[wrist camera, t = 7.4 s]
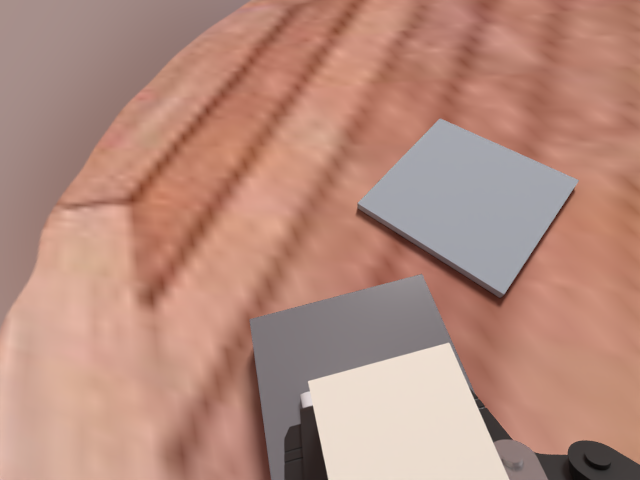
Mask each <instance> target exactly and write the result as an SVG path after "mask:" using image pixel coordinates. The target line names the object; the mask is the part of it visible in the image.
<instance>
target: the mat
mask: <svg viewBox="0 0 640 480" xmlns="http://www.w3.org/2000/svg"><path fill="white" fill-rule="evenodd" d="M578 181H579V180H577V179H575V178H573V177H570V176H568V175H566V174H564V173H561V172H559V171H557V170H555V169H552V168H550V167H548V166H546V165H543V164H541V163H539V162H537V161H534V160H532V159H530V158H528V157H525V156H523V155H521V154H519V153H516V152H514V151H512V150H510V149H507V148H505V147H503V146H501V145H498V144H496V143H494V142H492V141H489V140H487V139H485V138H483V137H480V136H478V135H476V134H474V133H472V132H469V131H467V130H465V129H463V128H460V127H458V126H456V125H454V124H451V123H449V122H447V121H445V120H442V119H439V120H438V121H437V122H436V123H435V124H434V125H433V126H432V127H431V128H430V129H429V130H428V131H427V132H426V133H425V134H424V136H423V137H422V138H421V139H420V140H419V141H418V142H417V143H416V144H415V145H414V146H413V147H412V148H411V149H410V150H409V151H408V152H407V153H406V154H405V155H404V156H403V157H402V158H401V159H400V160H399V161H398V162H397V163H396V164H395V165H394V166H393V167H392V168H391V169H390V170H389V171H388V172H387V174H386V175H385V176H384V177H383V178H382V179H381V180H380V181H379V182H378V183H377V184H376V185H375V186H374V187H373V188H372V189H371V190H370V191H369V192H368V193H367V194H366V195H365V196H364V197H363V198H362V199H361V200H360V201H359V202H358V209H360V210H361V211H363V212H364V213H366V214H368V215H369V216H371V217H372V218H374V219H376V220H377V221H379V222H380V223H382V224H383V225H385V226H387V227H388V228H390V229H391V230H393V231H395V232H396V233H398V234H399V235H401V236H403V237H404V238H406V239H407V240H409V241H410V242H412V243H414V244H415V245H417V246H418V247H420V248H422V249H423V250H425V251H426V252H428V253H430V254H431V255H433V256H434V257H436V258H437V259H439V260H441V261H442V262H444V263H445V264H447V265H449V266H450V267H452V268H453V269H455V270H456V271H458V272H460V273H461V274H463V275H464V276H466V277H468V278H469V279H471V280H472V281H474V282H476V283H477V284H479V285H480V286H482V287H483V288H485V289H487V290H488V291H490V292H491V293H493V294H495V295H496V296H498V297H499V298H501V297H502V296H503V295H504V294H505V292H506V291H507V289H508V288H509V286H510V285H511V283H512V282H513V280H514V279H515V277H516V276H517V274H518V273H519V271H520V269H521V268H522V266H523V265H524V263H525V262H526V260H527V259H528V257H529V256H530V254H531V253H532V251H533V250H534V248H535V247H536V245H537V244H538V242H539V241H540V239H541V237H542V236H543V234H544V233H545V231H546V230H547V228H548V227H549V225H550V224H551V222H552V221H553V219H554V218H555V216H556V215H557V213H558V212H559V210H560V209H561V207H562V205H563V204H564V202H565V201H566V199H567V198H568V196H569V195H570V193H571V192H572V190H573V189H574V187H575V186H576V184H577V183H578Z"/></svg>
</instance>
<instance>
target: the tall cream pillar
mask: <svg viewBox="0 0 640 480" xmlns="http://www.w3.org/2000/svg"><path fill="white" fill-rule="evenodd" d="M308 384H309V389H310V394H311V399H312V403H313V408H314V413H315V418H316V423H317V427H318V432H319V437H320V442H321V447H322V451H323V456H324V461H325V466H326V471H327V475H328V480H509V478H508V475H507V473H506V471H505V469H504V466H503V464H502V462H501V459H500V457H499V455H498V453H497V450H496V448H495V446H494V443H493V441H492V439H491V437H490V434H489V432H488V430H487V427H486V425H485V423H484V421H483V418H482V416H481V414H480V412H479V409H478V407H477V405H476V402H475V400H474V398H473V396H472V393H471V391H470V389H469V386H468V384H467V382H466V380H465V377H464V375H463V373H462V370H461V368H460V366H459V364H458V361H457V359H456V357H455V354H454V352H453V350H452V348H451V345H450V343H446V344H442V345H438V346H435V347H431V348H427V349H424V350H420V351H416V352H413V353H409V354H405V355H402V356H398V357H394V358H391V359H387V360H383V361H380V362H376V363H373V364H369V365H365V366H362V367H358V368H354V369H351V370H347V371H343V372H340V373H336V374H332V375H329V376H325V377H321V378H318V379H314V380H310V381H308Z"/></svg>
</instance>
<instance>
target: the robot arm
mask: <svg viewBox="0 0 640 480" xmlns="http://www.w3.org/2000/svg"><path fill="white" fill-rule="evenodd" d="M469 389H470V387H469ZM470 391H471V393H472V396H473V398H474V400H475V402H476V405H477V407H478V409H479V412H480V414H481V416H482V418H483V421H484V423H485V425H486V427H487V430H488V432H489V434H490V437H491V439H492V441H493V443H494V446H495V448H496V450H497V453H498V455H499V457H500V459H501V462H502V464H503V466H504V469H505V471H506V473H507V475H508V478H509V480H640V465H639V464H637V463H636V462H634V461H632V460H631V459H629V458H627V457H626V456H624V455H622V454H621V453H619V452H617V451H616V450H614V449H612V448H610V447H609V446H606V445H604V444H601V443H598V442H594V441H578V442H575V443H573V444H572V445H571V446H570V447H569V449H568V455H547V454H539V453H535V452H533V451H532V450H531V449H530V448H529V447H527V446H526V445H524V444H522V443H520V442H517V441H514V440H513V439H512V438H511V437H510V436H509V435H508V434H507V432H506V431H505V430H504V429H503V427H502V426H501V425H500V424H499V423H498V421H497V420H496V419H495V418H494V417H493V415H492V414H491V413H490V412H489V410H488V409H487V408H485V406H484V404H483V403H482V402H481V401H480V400H479V399H478V397H477V396H476V395H475V393H474V392H473V391H472V390H471V389H470ZM300 420H301V424H298V425H294V426H291V427H289V429H288V432H287V434H286V436H285V438H284V453H285V454H284V463H285V465H284V480H328V475H327V471H326V466H325V461H324V456H323V451H322V447H321V442H320V437H319V432H318V427H317V423H316V418H315V413H314V408H313V405H312V406H308V407H305V408H301V409H300Z"/></svg>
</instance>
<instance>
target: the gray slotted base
mask: <svg viewBox="0 0 640 480" xmlns="http://www.w3.org/2000/svg"><path fill="white" fill-rule="evenodd" d="M250 326H251V334H252V341H253V349H254V356H255V363H256V371H257V378H258V386H259V393H260V400H261V408H262V415H263V422H264V430H265V437H266V445H267V452H268V459H269V467H270V474H271V480H284V465H285V463H284V454H285V453H284V438H285V436H286V434H287V432H288V429H289V427H291V426H294V425H298V424H301V420H300V409H301V408H305V407H308V406H312V405H313V403H312V399H311V394H310V389H309V384H308V381H310V380H314V379H318V378H321V377H325V376H329V375H332V374H336V373H340V372H343V371H347V370H351V369H354V368H358V367H362V366H365V365H369V364H373V363H376V362H380V361H383V360H387V359H391V358H394V357H398V356H402V355H405V354H409V353H413V352H416V351H420V350H424V349H427V348H431V347H435V346H438V345H442V344H446V343H450V345H451V348H452V350H453V352H454V354H455V357H456V359H457V361H458V364H459V366H460V368H461V370H462V373H463V375H464V377H465V380H466V382H467V384H468V386H469V387H470V389H471V390H472V391H473V392H474V390H473V388H472V386H471V383H470V381H469V379H468V377H467V374H466V372H465V370H464V368H463V365H462V363H461V361H460V359H459V356H458V354H457V352H456V350H455V347H454V345H453V343H452V341H451V338H450V336H449V334H448V332H447V329H446V327H445V325H444V322H443V320H442V318H441V316H440V313H439V311H438V309H437V307H436V304H435V302H434V300H433V298H432V295H431V293H430V291H429V289H428V286H427V284H426V282H425V280H424V277H423V275H422V274H420V275H417V276H413V277H409V278H405V279H401V280H398V281H394V282H390V283H386V284H382V285H379V286H375V287H371V288H367V289H363V290H360V291H356V292H352V293H348V294H344V295H340V296H337V297H333V298H329V299H325V300H321V301H318V302H314V303H310V304H306V305H302V306H299V307H295V308H291V309H287V310H283V311H280V312H276V313H272V314H268V315H264V316H260V317H257V318H253V319H250ZM474 393H475V392H474Z"/></svg>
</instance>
